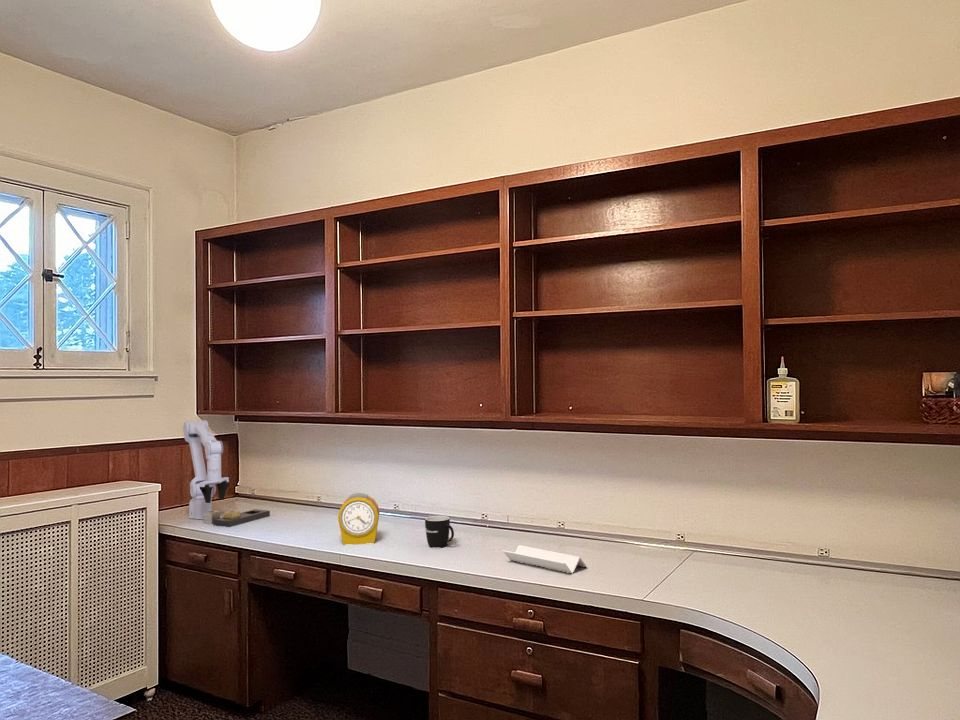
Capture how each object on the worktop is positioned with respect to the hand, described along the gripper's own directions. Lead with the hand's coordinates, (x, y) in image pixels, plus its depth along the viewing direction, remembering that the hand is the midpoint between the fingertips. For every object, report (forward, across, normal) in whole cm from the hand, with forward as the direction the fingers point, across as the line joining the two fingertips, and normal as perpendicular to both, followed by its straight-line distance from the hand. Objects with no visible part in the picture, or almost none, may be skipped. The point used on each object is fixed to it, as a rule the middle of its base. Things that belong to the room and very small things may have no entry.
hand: (214, 501), depth 316 cm
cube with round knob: (+10, -1, +1) cm, 10 cm away
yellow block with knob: (+10, +2, -8) cm, 12 cm away
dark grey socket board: (+9, +8, -8) cm, 15 cm away
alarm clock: (+9, -4, -79) cm, 80 cm away
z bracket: (+9, -8, -155) cm, 155 cm away
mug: (+9, +1, -111) cm, 111 cm away
